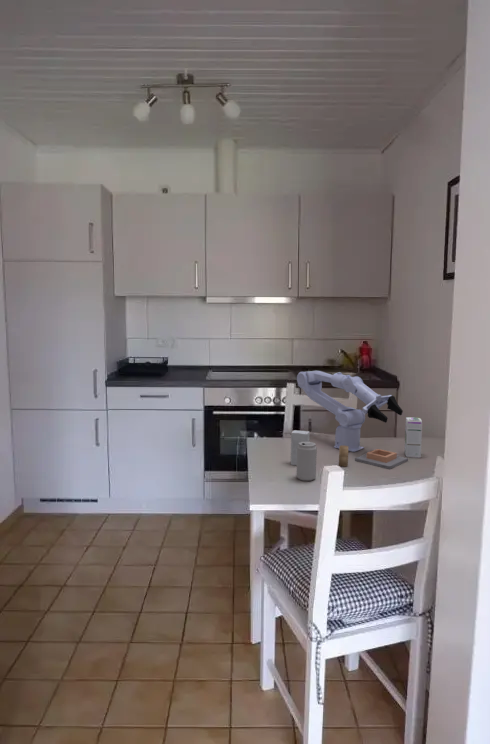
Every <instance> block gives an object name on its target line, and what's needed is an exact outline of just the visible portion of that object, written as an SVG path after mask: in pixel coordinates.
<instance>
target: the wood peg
mask: <svg viewBox="0 0 490 744" xmlns="http://www.w3.org/2000/svg"><path fill="white" fill-rule="evenodd" d="M338 450H339V451H338V452H339V453H338V466H339V467H341V468H346V467H348V466H349V451H348V446H345V445H341V446H339V448H338ZM342 466H343V467H342Z"/></svg>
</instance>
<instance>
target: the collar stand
mask: <svg viewBox="0 0 490 744" xmlns="http://www.w3.org/2000/svg"><path fill="white" fill-rule="evenodd" d="M408 459H409V457H406V456H405V457H403V456H400V455H398V452H394V451H389V450H386V449H379V448H376V449H373V450H370V451H368V452H366V453H364V454H362V455H359V456H357V457H355V458H354V461H355V462H359V463H363V464H366V465H371V466H375V467H378V468H383V469H388V470H392V469H393V468H396V467H398V466H399V465H402V464H403V463H407V462H408Z"/></svg>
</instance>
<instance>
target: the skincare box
mask: <svg viewBox="0 0 490 744" xmlns="http://www.w3.org/2000/svg"><path fill="white" fill-rule="evenodd" d="M310 433H311V432H310V430H309V431H308V430H307V431H306V430H296V429H295V430H292V432H291V433H290V442H291V443H290V465H291V466H297V447H298V445H299V443H300V442H310V435H311V434H310Z"/></svg>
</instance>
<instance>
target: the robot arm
mask: <svg viewBox="0 0 490 744" xmlns="http://www.w3.org/2000/svg"><path fill="white" fill-rule="evenodd" d="M296 381H297V386H298V387H299V388H300V389H302V390H303V391H304V393H305V394H306V396H307V397H308V398H309V399H310V400H311V401H313V402H315V403H316V404H317V405H319V406H320V407H322V408H323V409H325V410H327V411H328V412H330V413H331V414H333V415H334V416H335V418H334V419H335V420H336V421H337V422H338V423H339V425H338V426H337V427H336V429H335V434H334V435H335V439H334V440H335V441H334V446H333V449H334V448H335V449H339V446H341V445H345V446H348V452H352V453H355V452H358V451H360V450H363V449H365V447H364V446H361V427H362V425H363V424H364V423H365V420H366V415H367V417H368V418H370V419H375V420H378V421H381V422H383V423H385V424H386V423H387V421H388V416H386V415H385V414H384V413H383V412H382V411H381V410H380V409H381V408H382V407H383V406H384V405H386V404H387V410H391V411H393V412H394V413H396V414H397V415H399V416H402V415H403V412H404V411H403V409H402V408H401V407H400V405H399V403H398V402H397V400H396V397H395V396H394V395H392V394H388V395H382V394H379V393H377V392H375V391H374V390H373V389H371V388H370V387H369V386H367V384H365V383H364V381H363V379H362V378H361V377H360V376H358V375H356V376H351V375H350V374H343V373H342V372H340V371H339V372H336V373H333V374H331V373H327V372H325V371H322V370H316V369H315V370H312V371H308V370H307V371H300V372H298V374H297V375H296ZM322 382H325V383H330V384H331V386H332V387H334V388H339V389H342V390H344V392H346V393H351V395H354V396H355V397H357V398H358V399H359V400H360V401H361V402H363V403H364V404H365V406H363V407H362V409H360V408H359V409H358V408H354V407H352V406H346V405H345V404H343V403H342V402H340V401H338V400H337V399H335V398H333V397H332V396H330V395H328V394H327V393H326V392H324V391H322V386H323V383H322Z"/></svg>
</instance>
